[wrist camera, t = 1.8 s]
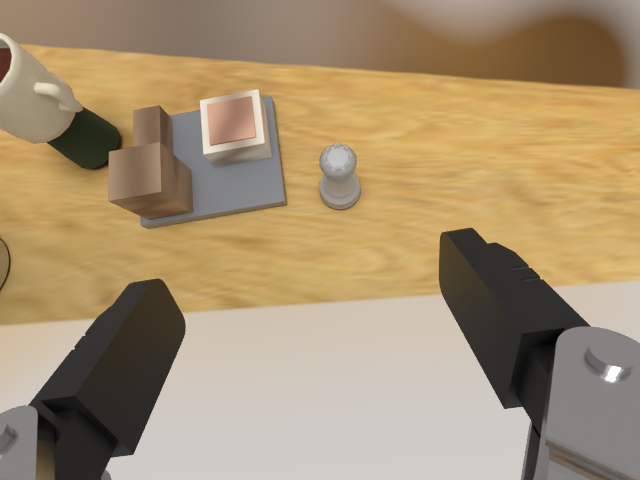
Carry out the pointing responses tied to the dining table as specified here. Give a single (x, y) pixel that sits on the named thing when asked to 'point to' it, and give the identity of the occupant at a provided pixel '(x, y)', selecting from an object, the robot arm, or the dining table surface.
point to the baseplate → (224, 174)
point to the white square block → (235, 128)
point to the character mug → (49, 110)
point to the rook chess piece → (339, 177)
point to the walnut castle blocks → (150, 170)
